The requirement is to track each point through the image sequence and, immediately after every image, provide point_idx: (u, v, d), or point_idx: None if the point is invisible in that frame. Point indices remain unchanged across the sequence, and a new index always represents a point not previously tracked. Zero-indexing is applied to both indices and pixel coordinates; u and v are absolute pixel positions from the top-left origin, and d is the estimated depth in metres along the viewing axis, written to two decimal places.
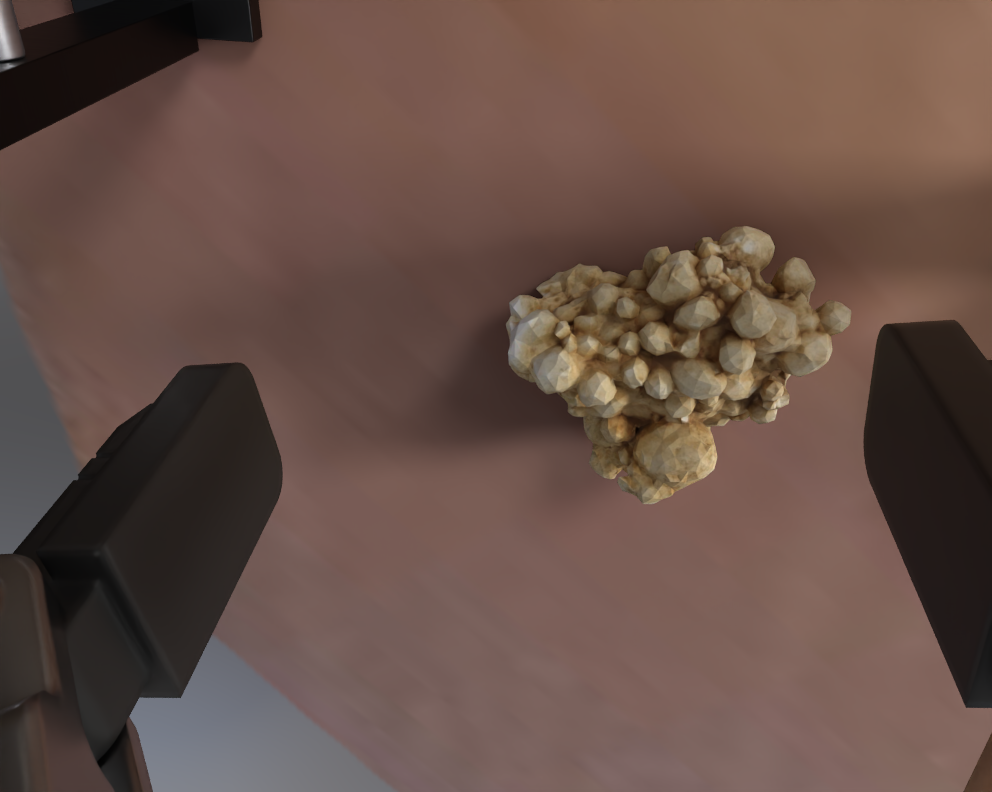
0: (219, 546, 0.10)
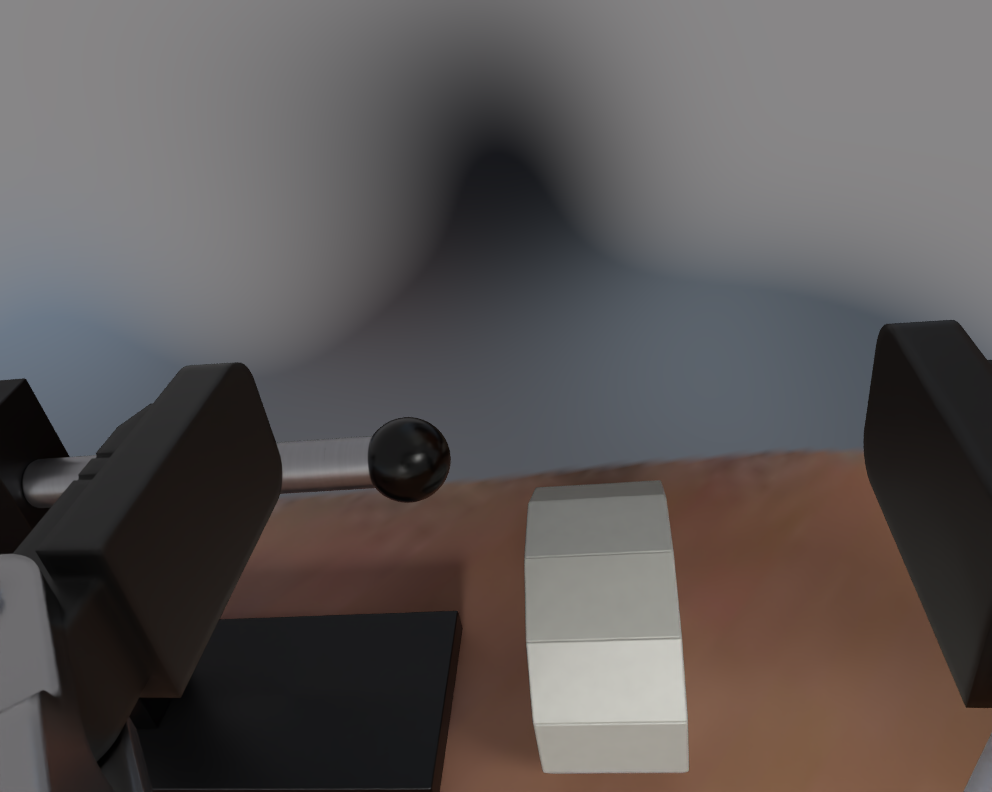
0: (220, 547, 0.10)
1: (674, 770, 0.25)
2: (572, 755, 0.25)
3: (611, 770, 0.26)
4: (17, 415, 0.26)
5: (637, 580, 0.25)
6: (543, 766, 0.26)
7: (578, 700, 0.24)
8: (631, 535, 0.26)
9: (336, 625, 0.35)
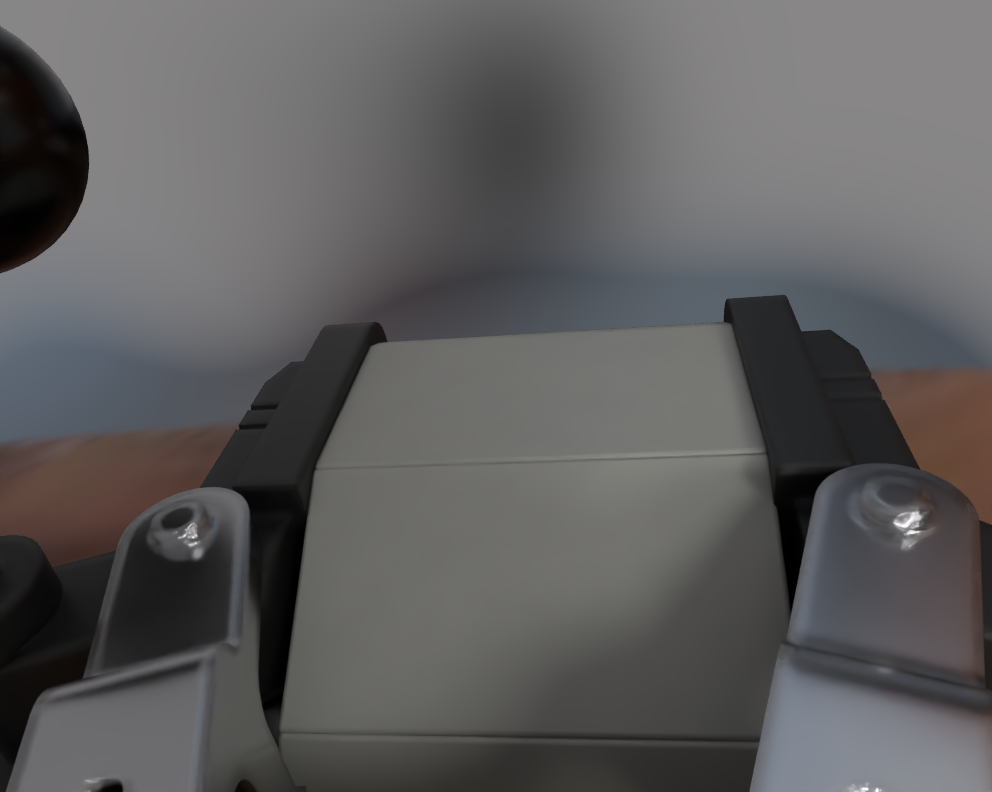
0: None
1: None
2: None
3: None
4: None
5: (652, 540, 0.08)
6: None
7: None
8: (637, 411, 0.09)
9: None
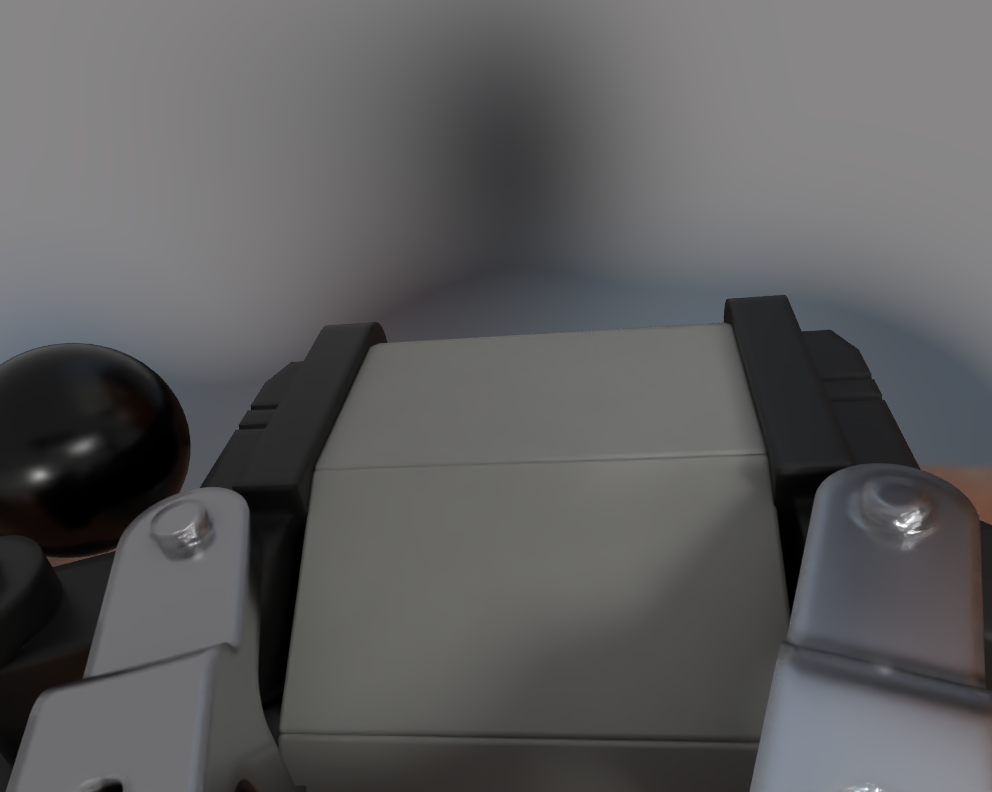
0: None
1: None
2: None
3: None
4: None
5: (652, 541, 0.08)
6: None
7: None
8: (636, 412, 0.09)
9: None
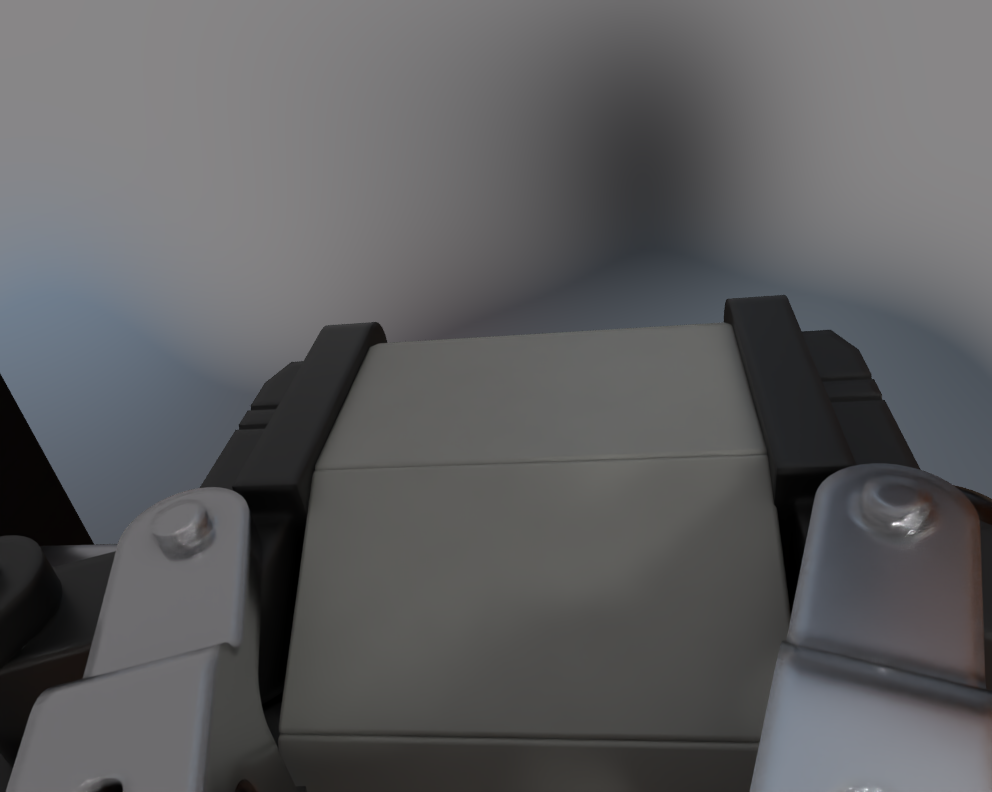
0: None
1: None
2: None
3: None
4: None
5: (652, 541, 0.08)
6: None
7: None
8: (636, 412, 0.09)
9: None
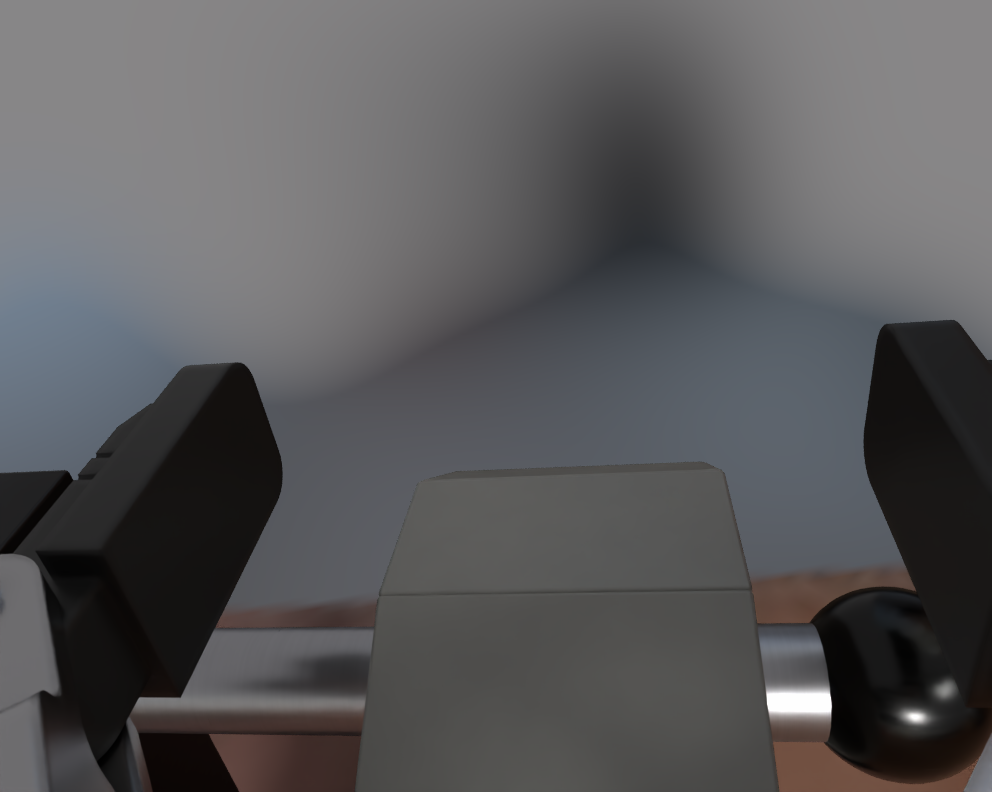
0: (219, 546, 0.10)
1: None
2: None
3: None
4: None
5: (658, 662, 0.09)
6: None
7: None
8: (644, 550, 0.10)
9: None
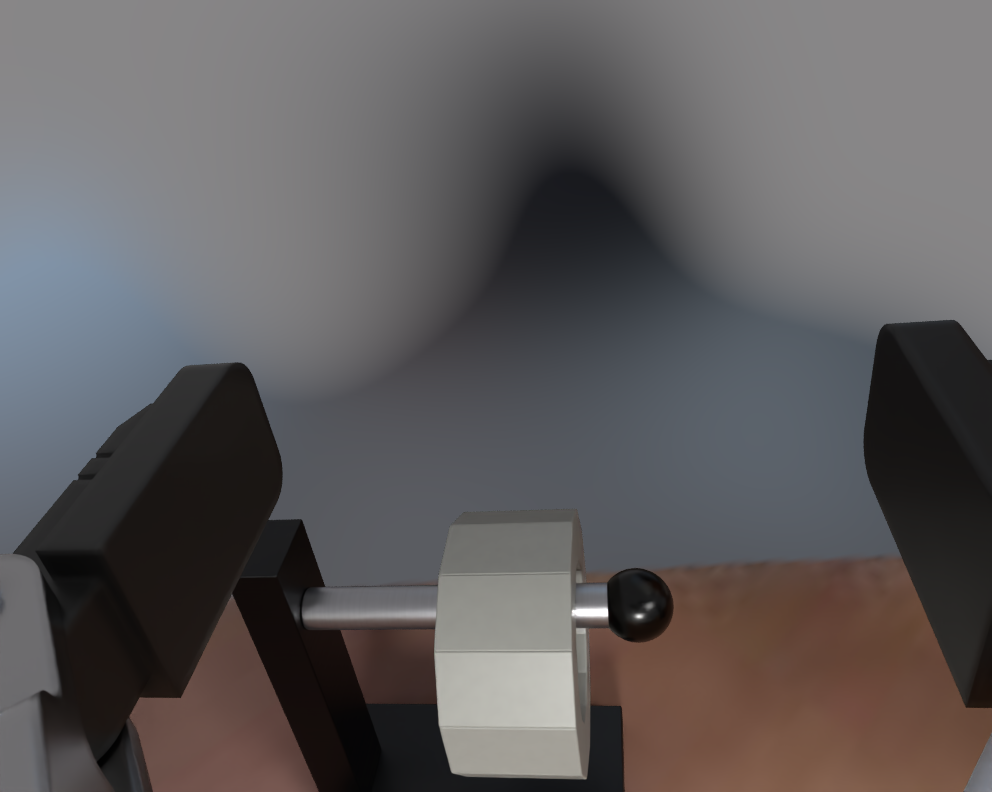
0: (220, 546, 0.10)
1: (568, 774, 0.28)
2: (476, 757, 0.28)
3: (512, 772, 0.28)
4: (298, 552, 0.31)
5: (536, 598, 0.27)
6: (451, 767, 0.28)
7: (479, 706, 0.27)
8: (536, 557, 0.28)
9: None
